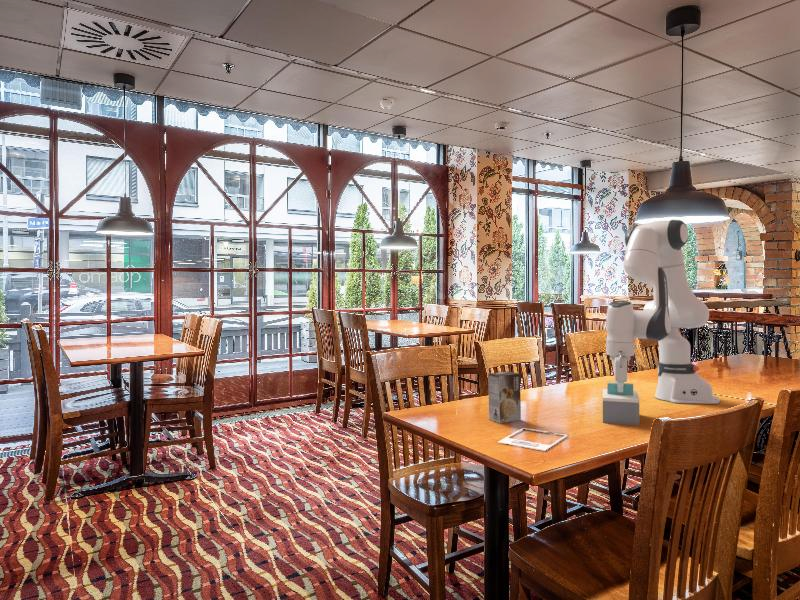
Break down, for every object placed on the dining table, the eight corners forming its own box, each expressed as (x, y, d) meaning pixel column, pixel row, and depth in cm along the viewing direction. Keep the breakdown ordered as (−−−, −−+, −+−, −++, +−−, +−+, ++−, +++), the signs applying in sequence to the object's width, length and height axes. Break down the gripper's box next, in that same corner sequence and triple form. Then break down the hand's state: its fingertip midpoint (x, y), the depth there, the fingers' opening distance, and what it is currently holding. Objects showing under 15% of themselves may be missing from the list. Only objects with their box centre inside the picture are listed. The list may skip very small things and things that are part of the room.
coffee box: (509, 416, 195) (509, 370, 194) (521, 420, 189) (521, 373, 189) (488, 419, 191) (487, 373, 190) (499, 423, 185) (499, 376, 184)
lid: (636, 396, 192) (636, 380, 191) (639, 406, 178) (639, 388, 177) (602, 395, 195) (602, 378, 195) (602, 404, 181) (602, 387, 181)
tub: (636, 416, 192) (636, 393, 192) (639, 427, 178) (639, 402, 177) (602, 414, 196) (602, 391, 195) (602, 425, 182) (602, 400, 181)
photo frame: (497, 441, 163) (523, 427, 178) (497, 444, 163) (523, 430, 178) (544, 449, 155) (568, 434, 169) (544, 453, 155) (568, 438, 169)
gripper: (631, 354, 175) (631, 397, 176) (629, 346, 194) (629, 385, 195) (610, 353, 177) (610, 396, 178) (609, 345, 196) (609, 384, 197)
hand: (620, 390), depth 186 cm, fingers closed on lid
